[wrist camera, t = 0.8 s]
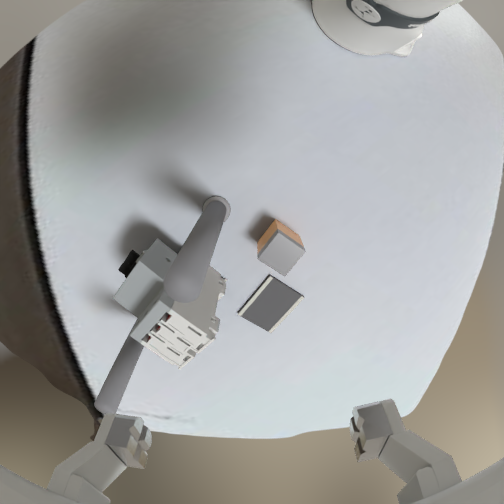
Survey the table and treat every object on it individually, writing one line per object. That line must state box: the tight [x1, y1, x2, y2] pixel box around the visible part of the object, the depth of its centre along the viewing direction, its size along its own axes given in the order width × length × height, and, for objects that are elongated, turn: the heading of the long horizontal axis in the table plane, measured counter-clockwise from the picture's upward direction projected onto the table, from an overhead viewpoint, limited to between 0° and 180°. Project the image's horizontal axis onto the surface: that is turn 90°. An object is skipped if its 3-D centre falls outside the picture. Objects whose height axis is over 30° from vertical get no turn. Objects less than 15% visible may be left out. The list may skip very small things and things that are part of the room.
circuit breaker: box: [113, 238, 227, 369], centre depth 39 cm, size 8×14×15 cm, turn 48°
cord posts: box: [94, 196, 230, 414], centre depth 36 cm, size 27×4×22 cm, turn 145°
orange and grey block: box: [257, 219, 306, 276], centre depth 41 cm, size 4×4×6 cm
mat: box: [238, 275, 304, 333], centre depth 48 cm, size 9×7×1 cm
